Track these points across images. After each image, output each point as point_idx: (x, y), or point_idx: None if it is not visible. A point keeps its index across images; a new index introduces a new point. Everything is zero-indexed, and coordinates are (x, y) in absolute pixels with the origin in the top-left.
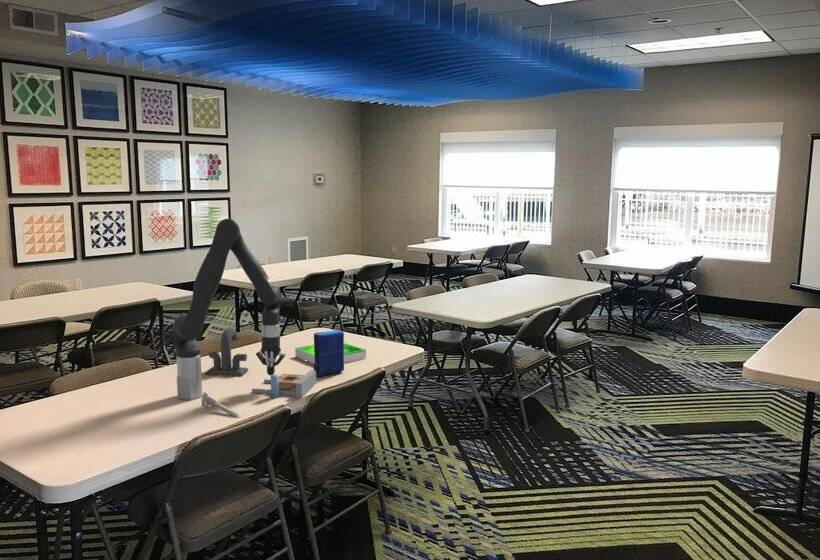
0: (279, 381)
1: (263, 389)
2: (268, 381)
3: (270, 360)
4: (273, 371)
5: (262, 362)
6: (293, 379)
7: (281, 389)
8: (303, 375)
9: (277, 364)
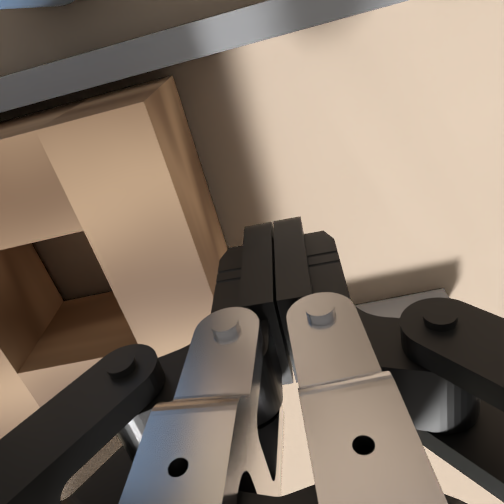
0: (63, 152)
1: (271, 14)
2: (401, 307)
3: (221, 413)
4: (218, 279)
5: (488, 329)
6: (74, 342)
7: (59, 111)
8: (11, 428)
9: (90, 385)
